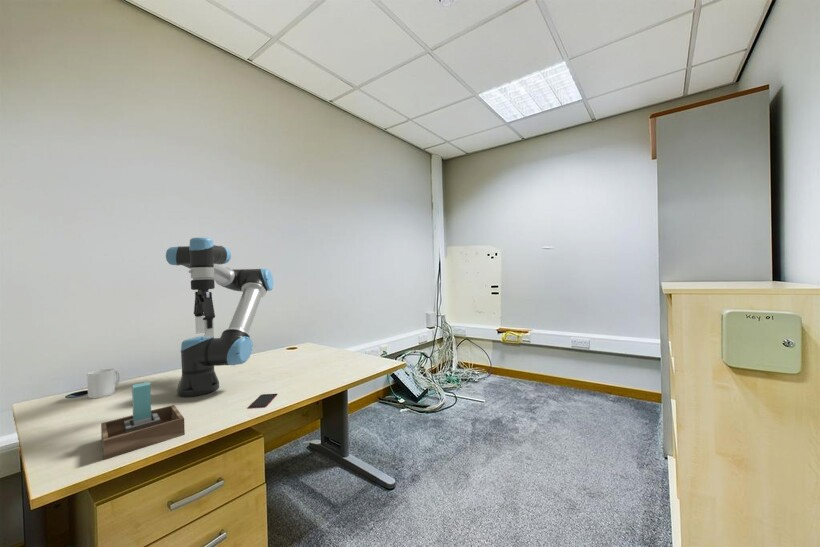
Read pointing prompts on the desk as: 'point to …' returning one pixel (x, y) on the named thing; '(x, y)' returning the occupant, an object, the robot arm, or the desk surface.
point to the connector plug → (141, 403)
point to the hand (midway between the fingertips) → (204, 335)
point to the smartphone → (262, 401)
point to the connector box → (141, 431)
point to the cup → (102, 382)
